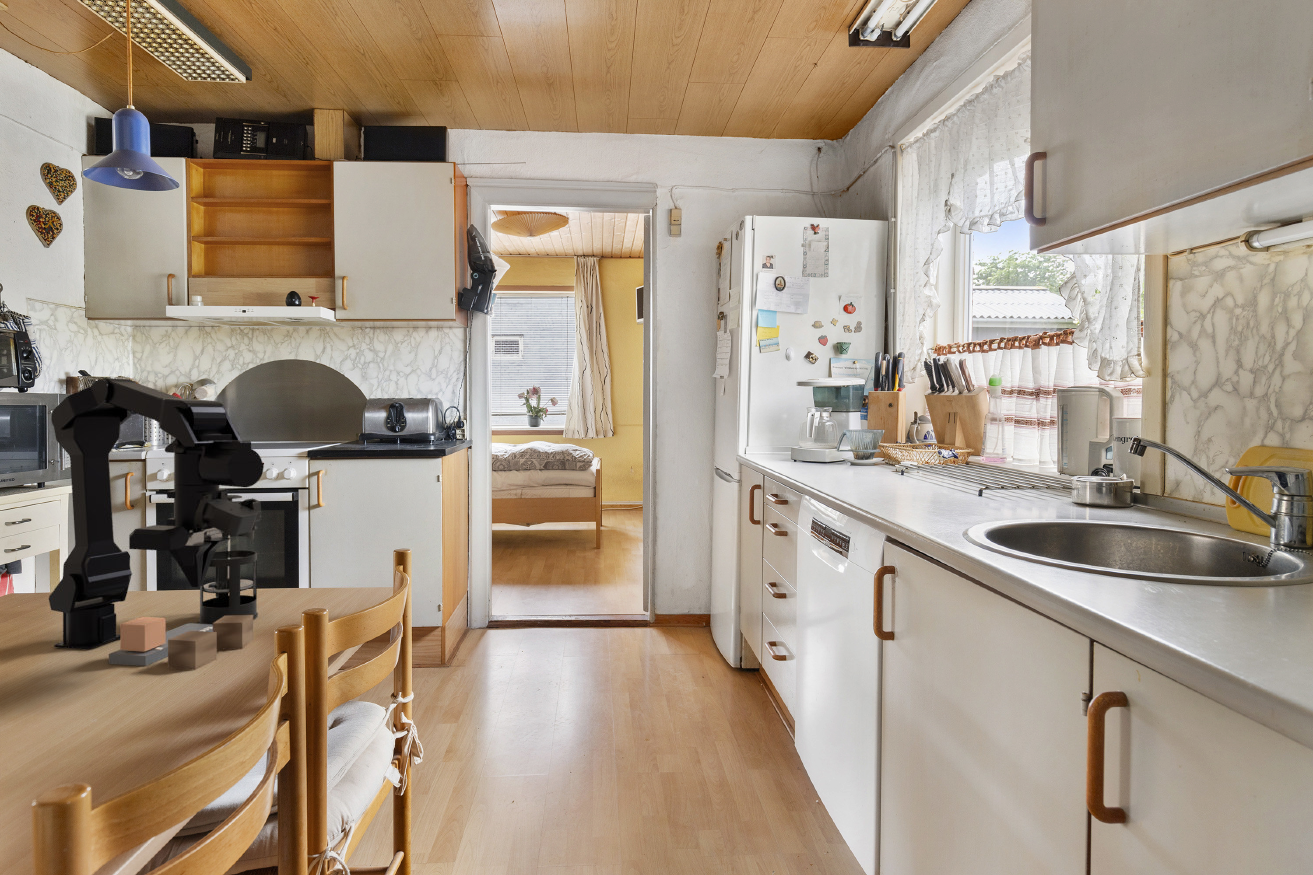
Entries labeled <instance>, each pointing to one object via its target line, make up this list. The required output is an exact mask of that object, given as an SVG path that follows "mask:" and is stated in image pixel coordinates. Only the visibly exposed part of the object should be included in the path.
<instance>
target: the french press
mask: <svg viewBox="0 0 1313 875" xmlns="http://www.w3.org/2000/svg"><path fill="white" fill-rule="evenodd" d="M242 498H243V496H242V495H239V494H228V500H229V501H231V502H233V500H235V499H242ZM256 530H258V526H256V525H255V530H252V531H251V532H250V533H247V532H245V533H241V534H239V535H237V536H236V537H245V538H247V539H248V540H251V541H253V540H255V531H256ZM220 533H222V537H228V538H230V540H229V541H227V550H226V549H225V550H216V551H215V553H214V555H213V558H212V560H211V563H210V565H209V568H210V567H211V568H212V567H213V568H215V581H214V582H212V581H211V582H209V583H206V584H204V583H203V584H202V586H200V587H199V619H198V624H212V625H213V623H214V622H216V621H217V620H219V619H220V618H222V617H223V616H231V615H253V621H254V620H256V619H257V618H258V616H259V613H258V611H257V609H258V608H257V607H258V605H257V602H258V601H257V599H258V598H257V592H258V591H257V584H258V583H257V582H258V580H257V578H258V573H257V572H258V570H257V569H258V553H257V551H255V550H247V549H243V550H242V549H235V550H234V549H233V550H232V549H231V537H232V536H231V535H227V534H225V533H224V532H223V531H220ZM252 563H253V564H252ZM248 564H252V565H253V567H252V572H253V573H252V576H253V577H252V578H253V579H252V580H251V579H241V566H243V565H248ZM252 588H253V589H252ZM251 589H252V590H253V592H252V595H245V594H244V595H243V594H241V592H243V591H247V590H251ZM204 593H208V594H215V597H213V598H208V599H206V600H204Z"/></svg>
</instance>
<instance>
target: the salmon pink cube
mask: <svg viewBox="0 0 1313 875" xmlns="http://www.w3.org/2000/svg"><path fill="white" fill-rule="evenodd" d="M166 622H167V621H166V618H165V617H156V616H155V617H152V616H140V617H138V618H134V619H131V620H129V621H126V622H123V623H120V626H119V627H120V629H119V630H120V634H121V638H120V649H121V650H126V651H144V652H145V651H147V650H150V649H152V648H155V647H157V646H160V645H162V644H165V642H166V632H167V631H166Z"/></svg>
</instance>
